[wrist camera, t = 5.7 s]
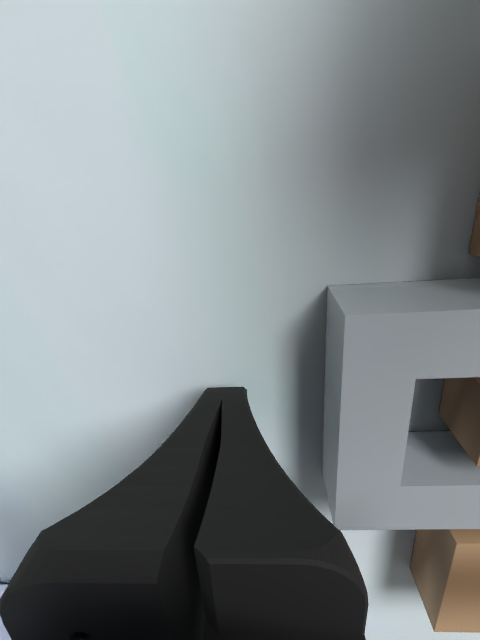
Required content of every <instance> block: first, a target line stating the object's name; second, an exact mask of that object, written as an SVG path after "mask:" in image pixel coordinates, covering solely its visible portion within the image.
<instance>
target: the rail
mask: <svg viewBox="0 0 480 640" xmlns="http://www.w3.org/2000/svg"><path fill="white" fill-rule="evenodd" d="M469 253H470V254H472V255H475V256H477V257H480V195H479V201H478V206H477V211H476V217H475V222H474V227H473V233H472V238H471V243H470V249H469ZM439 416H440V417H441V418H442V420H443V421H444V422H445V424H446V425H447V427H448V428H449V429H450V431H451V432H452V433H453V435H454V436H455V437H456V439H457V440H458V442H459V443H460V444H461V446H462V447H463V448H464V450H465V451H466V452H467V454H468V455H469V457H470V458H471V459H472V461H473V462H474V463H475V465H476V466H480V377H467V378H445V382H444V387H443V393H442V398H441V403H440V409H439ZM410 570H411V572H412V575H413V577H414V580H415V583H416V585H417V588H418V591H419V593H420V596H421V598H422V601H423V604H424V606H425V609H426V611H427V614H428V617H429V619H430V622H431V625H432V627H433V630H434V632H480V529H417V531H416V537H415V542H414V547H413V553H412V558H411V563H410Z"/></svg>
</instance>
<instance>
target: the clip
mask: <svg viewBox="0 0 480 640" xmlns="http://www.w3.org/2000/svg"><path fill="white" fill-rule="evenodd" d="M467 377H480V278H465V279H446V280H427V281H408V282H389V283H370V284H351V285H332V286H327V320H326V356H325V392H324V429H323V465H322V474H323V479H324V483H325V488H326V493H327V497H328V502H329V507H330V511H331V516H332V521H333V525H334V526H335V527H336V528H337V529H338V530H416V529H480V466H476V465H475V463H474V462H473V461H472V459H471V458H470V457H469V455H468V454H467V452H466V451H465V450H464V448H463V447H462V446H461V444H460V443H459V442H458V440H457V439H456V437H455V436H454V435H453V433H452V432H451V431H425V432H408V430H409V423H410V416H411V409H412V402H413V396H414V389H415V382H416V379H438V378H467Z"/></svg>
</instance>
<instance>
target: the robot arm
mask: <svg viewBox="0 0 480 640" xmlns="http://www.w3.org/2000/svg"><path fill="white" fill-rule="evenodd" d="M367 610H368V595H367V590H366V586H365V583H364V580H363V578H362V575H361V572H360V570H359V567H358V565H357V563H356V560H355V558H354V556H353V554H352V552H351V550H350V548H349V546H348V544H347V542H346V540H345V538H344V536H343V534H342V532H341V531H340V530H338V529H337V528H336V527H335V526H334V525H333V524H332V523H331V522H330V521H328V520H327V519H326V518H325V517H324V516H323V515H322V514H321V513H320V512H319V511H318V510H317V509H316V508H315V507H314V506H313V505H312V504H311V503H310V502H309V501H308V499H307V498H306V497H305V496H304V495H303V494H302V493H301V491H300V490H299V489H298V488H297V487H296V486H295V484H294V483H293V482H292V481H291V480H290V478H289V477H288V476H287V475H286V473H285V472H284V470H283V469H282V468H281V466H280V465H279V463H278V462H277V460H276V459H275V457H274V456H273V454H272V453H271V451H270V449H269V448H268V446H267V444H266V443H265V441H264V439H263V437H262V435H261V433H260V431H259V429H258V427H257V425H256V422H255V420H254V418H253V415H252V413H251V410H250V407H249V403H248V399H247V390H246V389H245V388H244V387H219V388H207V389H206V390H205V391H204V393H203V394H202V396H201V397H200V399H199V400H198V401H197V403H196V404H195V406H194V407H193V408H192V410H191V411H190V412H189V414H188V415H187V416H186V418H185V419H184V420H183V421H182V423H181V424H180V425H179V426H178V428H177V429H176V430H175V431H174V432H173V433H172V434H171V436H170V437H169V438H168V439H167V440H166V441H165V442H164V443H163V444H162V445H161V447H160V448H159V449H158V450H157V451H156V452H155V453H154V454H153V455H152V456H150V457H149V458H148V459H147V460H146V461H145V462H144V463H143V464H142V465H141V466H140V467H138V468H137V469H136V470H135V471H133V472H132V473H131V474H130V475H128V476H127V477H126V478H125V479H123V480H122V481H121V482H120V483H118V484H117V485H116V486H114V487H113V488H111V489H110V490H109V491H107V492H106V493H104V494H103V495H102V496H100V497H98V498H97V499H95V500H94V501H92V502H91V503H89V504H88V505H86V506H85V507H83V508H81V509H80V510H78V511H76V512H75V513H73V514H71V515H70V516H68V517H66V518H64V519H63V520H61V521H59V522H57V523H56V524H54V525H52V526H50V527H49V528H47V529H45V530H43V531H41V533H40V534H39V536H38V537H37V539H36V540H35V542H34V543H33V544H32V546H31V547H30V549H29V550H28V552H27V554H26V555H25V557H24V559H23V560H22V562H21V564H20V566H19V567H18V569H17V571H16V572H15V574H14V576H13V577H12V579H11V581H10V583H9V584H0V640H366V639H365V635H364V633H365V625H366V618H367Z"/></svg>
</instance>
